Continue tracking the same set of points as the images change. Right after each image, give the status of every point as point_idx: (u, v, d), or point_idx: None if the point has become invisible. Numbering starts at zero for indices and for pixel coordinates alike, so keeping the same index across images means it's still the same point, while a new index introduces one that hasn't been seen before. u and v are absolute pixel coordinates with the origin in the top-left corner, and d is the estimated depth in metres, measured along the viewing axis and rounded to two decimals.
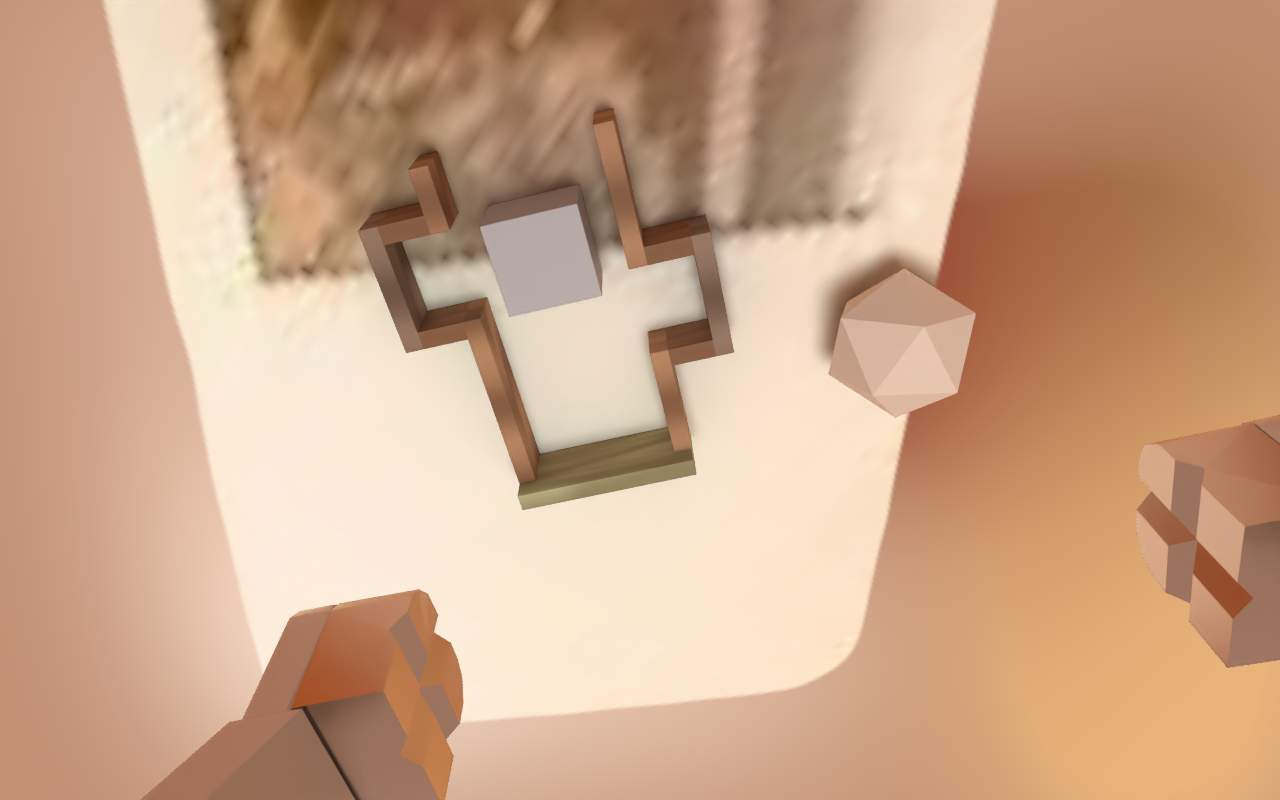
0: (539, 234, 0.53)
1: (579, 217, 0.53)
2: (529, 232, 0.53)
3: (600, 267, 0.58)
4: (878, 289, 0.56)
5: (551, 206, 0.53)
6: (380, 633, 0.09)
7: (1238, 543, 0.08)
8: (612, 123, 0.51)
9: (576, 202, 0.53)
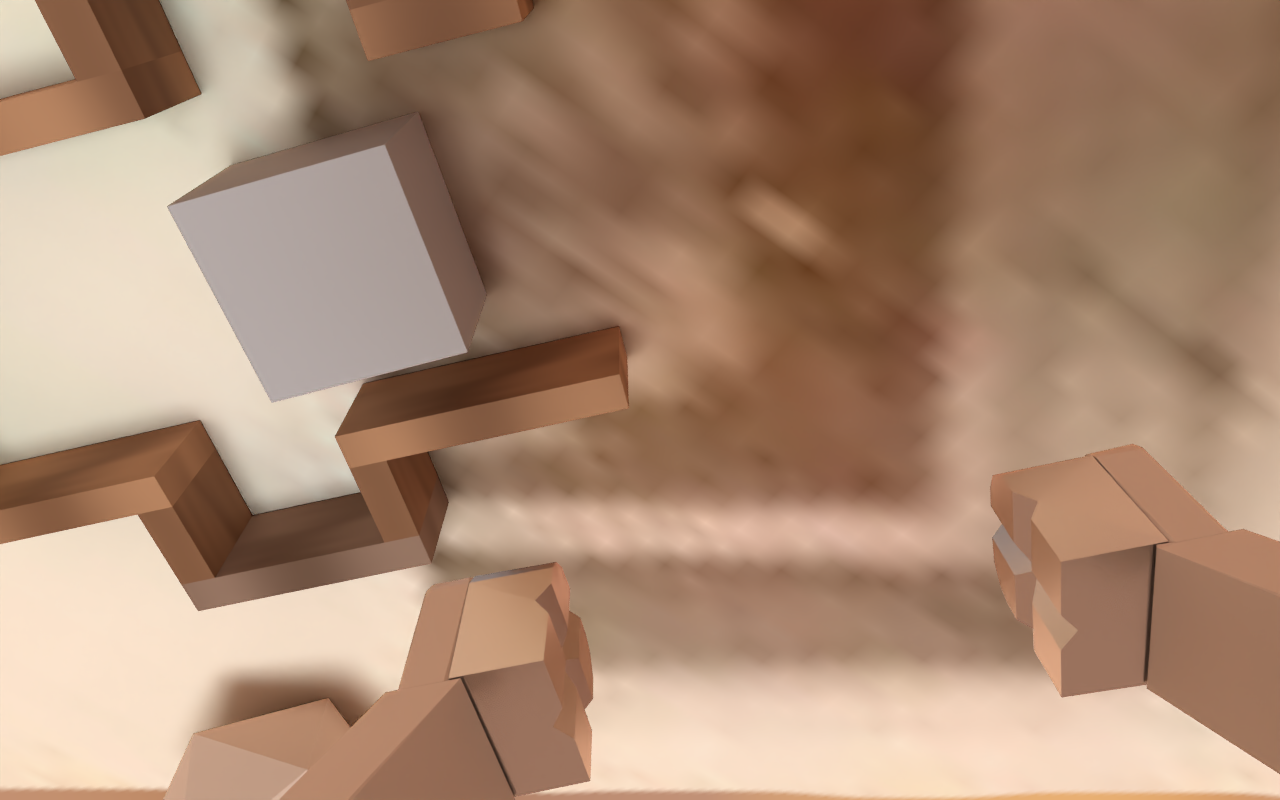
0: (388, 278, 0.24)
1: (438, 357, 0.25)
2: (391, 257, 0.24)
3: None
4: None
5: (451, 291, 0.25)
6: (527, 604, 0.09)
7: (1059, 577, 0.08)
8: (623, 407, 0.27)
9: (468, 345, 0.25)
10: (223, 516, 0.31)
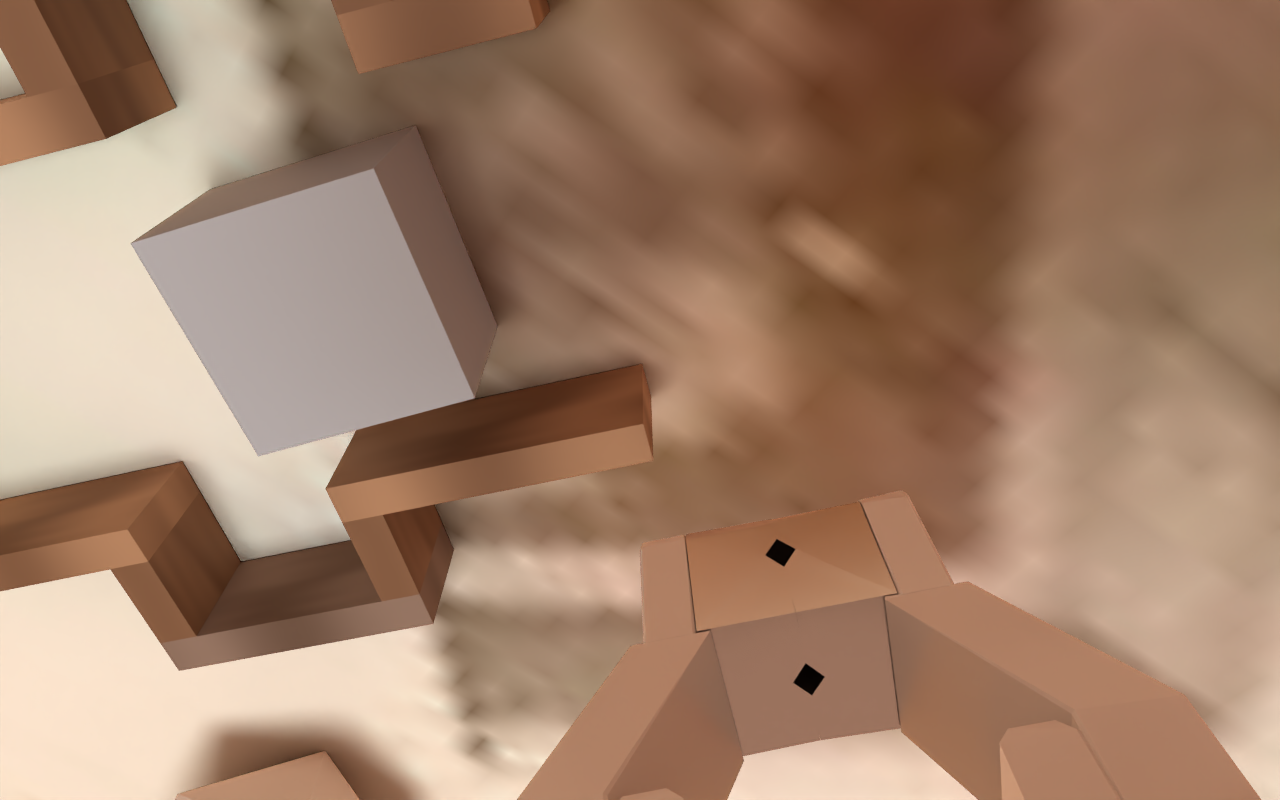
0: (383, 319, 0.21)
1: (442, 404, 0.22)
2: (385, 295, 0.21)
3: None
4: None
5: (455, 330, 0.22)
6: (758, 559, 0.09)
7: None
8: (646, 459, 0.24)
9: (475, 389, 0.23)
10: (207, 566, 0.28)
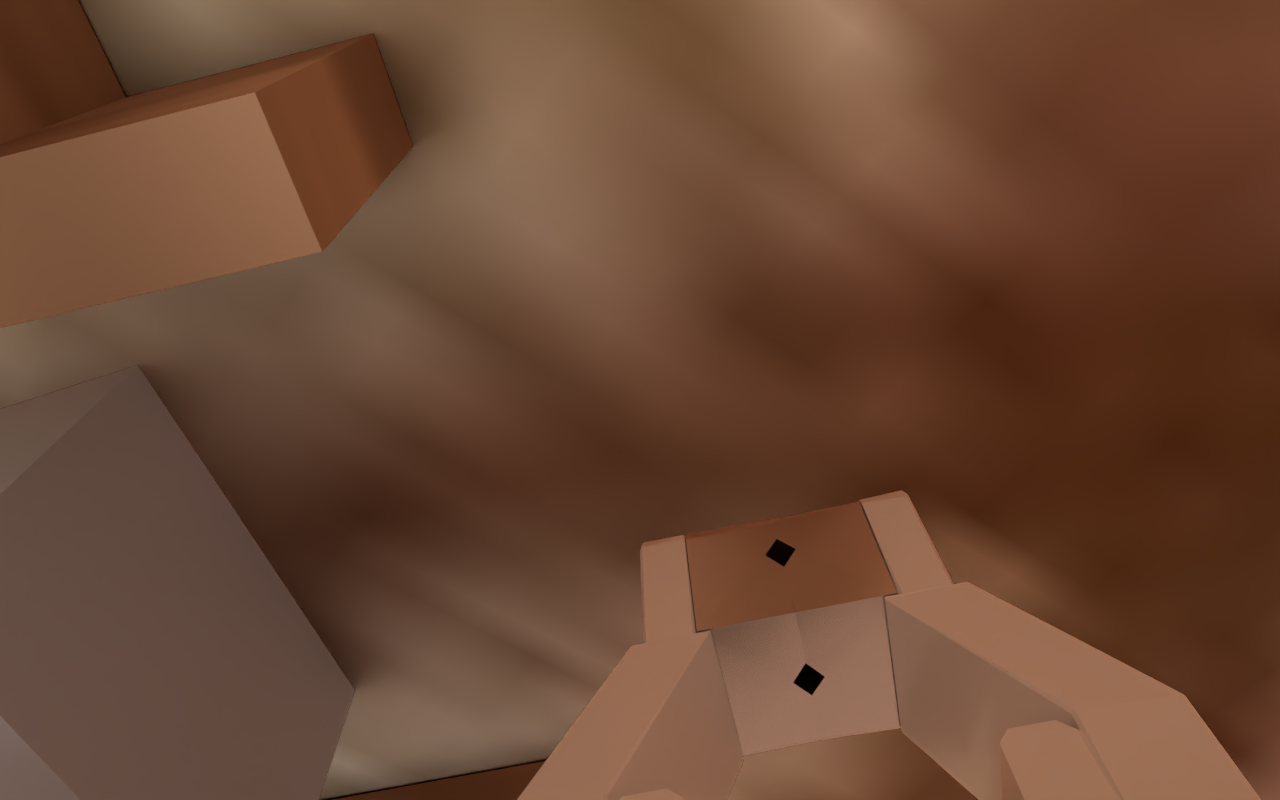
0: None
1: None
2: None
3: None
4: None
5: None
6: (758, 558, 0.09)
7: None
8: None
9: None
10: None
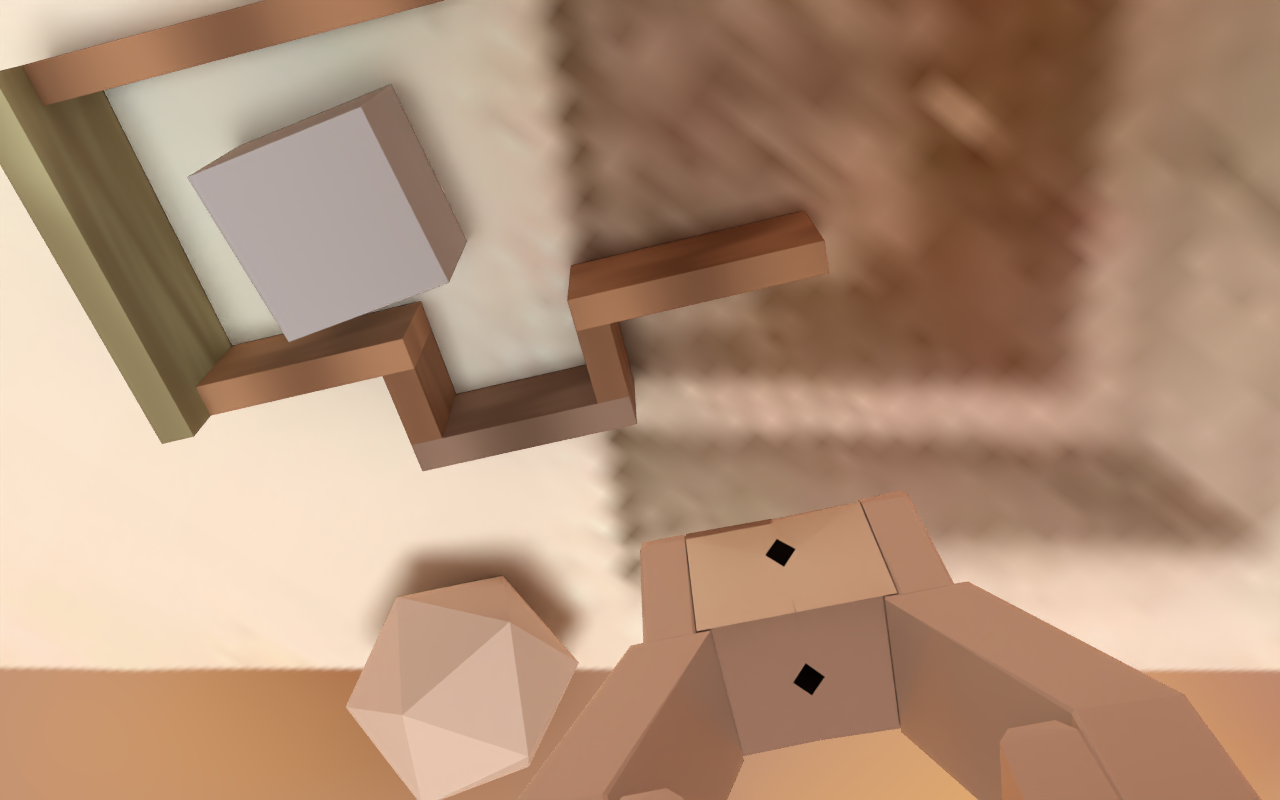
0: (375, 223, 0.28)
1: (425, 289, 0.29)
2: (375, 204, 0.28)
3: None
4: (551, 648, 0.38)
5: (430, 232, 0.29)
6: (758, 559, 0.09)
7: None
8: (824, 271, 0.31)
9: (449, 277, 0.30)
10: (441, 388, 0.34)
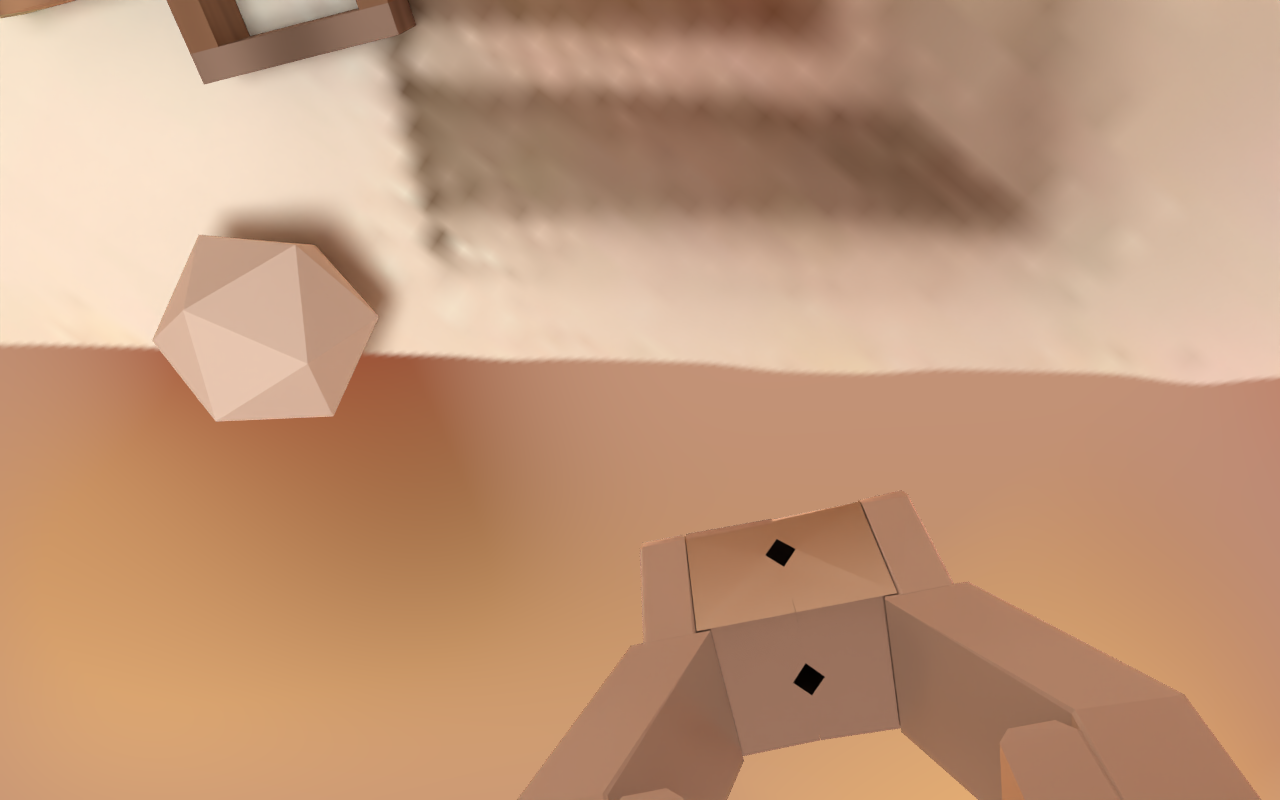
0: None
1: None
2: None
3: None
4: (345, 289, 0.40)
5: None
6: (758, 559, 0.09)
7: None
8: None
9: None
10: (225, 13, 0.37)
